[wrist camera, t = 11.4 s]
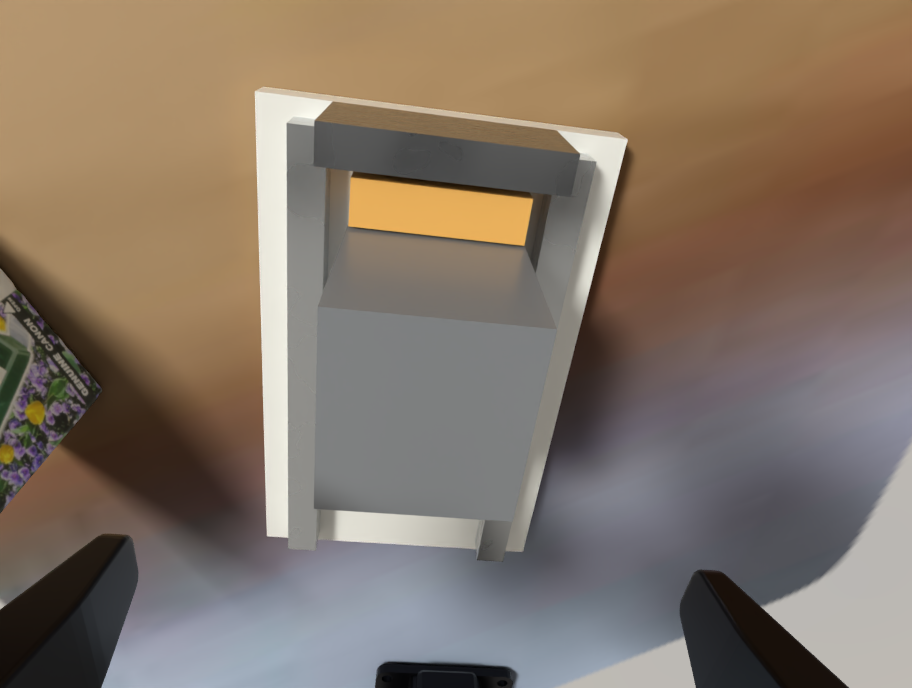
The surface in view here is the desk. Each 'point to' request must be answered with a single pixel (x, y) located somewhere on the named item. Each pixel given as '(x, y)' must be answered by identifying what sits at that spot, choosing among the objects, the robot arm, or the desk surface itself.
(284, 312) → the rail plate
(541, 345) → the block
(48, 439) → the ink box
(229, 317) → the desk surface
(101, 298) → the desk surface
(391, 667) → the robot arm
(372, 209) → the bar
